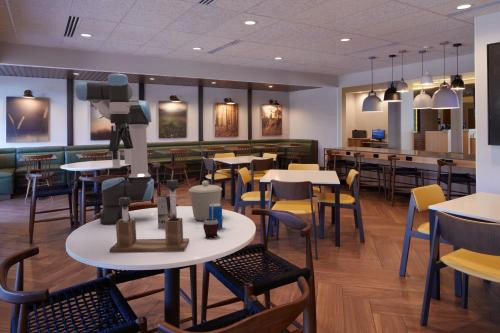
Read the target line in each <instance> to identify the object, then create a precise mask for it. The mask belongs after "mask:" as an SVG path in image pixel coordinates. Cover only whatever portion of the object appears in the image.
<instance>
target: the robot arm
mask: <svg viewBox="0 0 500 333" xmlns="http://www.w3.org/2000/svg"><path fill="white" fill-rule="evenodd" d="M128 78H129V77H128V76H127V75H126V74H124V73H110V74H108V76H107V82H102V81H101V82H96V81H94V82H93V81H91V82H89V81H82V82H77V83H76V84H75V91H74V92H75V96H76V99H77V100H78V101H83V102H86V101H88V102H90V104H92V105H93V106H94V107H95V108H96V109H97V111H98V112H99V114H100V115H101V116H102V118H105V119H107V120H109V121H110V123H111V124H114V125H111V126H110V130H111V131H110V137H109V139H110V140H109V146H108V151H109V152H111V158H112V159H111V160H112V169H121V153H120V152H121V150H119V149H120V145H121V141H122V143H123V147H124V149H123V152H124V154H123V155H124V165H130V168H131V169H130V170H131V171H130V172H131V174H129V176H128V179H125V177H121V176H120V177H114V178H107V179H106V180H103V181H102V183H101V195H102V196H101V197H102V198H101V200H102V211H101V215H100V217H99V222H100V224H101V225H105V226H106V225H111V226H112V225H116V222H117V221H119V220H120V219H123V217H122V206H119V198H122V197H130V202H140V201H141V202H145V201H150V200H152V198H153V195H154V188H155V186H154V185H155V179H153V178H152V175H151V174H150V173H149V167H148V164H149V162H148V146H147V144H148V142H147V129H148V127H149V126H150V123H151V122H153V121H152V113H151V109H150V104H149V103H148V101H147V100H137V99H136V100H134V99H132V98H133V95H134V90H133V88H132V86H131V84H129V79H128ZM131 99H132V100H131ZM128 215H129V219H131V214H130V213H129V211H128Z"/></svg>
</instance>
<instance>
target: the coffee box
mask: <svg viewBox="0 0 500 333" xmlns="http://www.w3.org/2000/svg"><path fill="white" fill-rule="evenodd" d="M156 198H157V199H156V203H157V205H156V206H157V228H158V229H164V230H165V221H166V220H167V219H168V218H171V210H170V193H163V194H161V195H157V197H156Z"/></svg>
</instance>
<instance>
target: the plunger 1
mask: <svg viewBox="0 0 500 333" xmlns="http://www.w3.org/2000/svg"><path fill="white" fill-rule="evenodd" d="M119 206H122V217H123V222H129V215H130V214H129V215H128V212H129V206H131V201H130V197H122V198H119Z"/></svg>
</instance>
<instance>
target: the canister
mask: <svg viewBox="0 0 500 333" xmlns="http://www.w3.org/2000/svg"><path fill="white" fill-rule="evenodd" d="M209 183H210V182H209V181H208V180H203V181H202V182H201V184H198V185H194V186H192V187H190V188H189V189H188V192H189V194H190V201H191V208H192V213H193V214H192V215H193V217H194V218H195V220H197V221H202V222H204V221H205V220H206V219H209V206H210V204H212V202H214V203H213V204H221V195H222V191H223V188H222V187H220V186H219V185H215V184H209Z"/></svg>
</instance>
